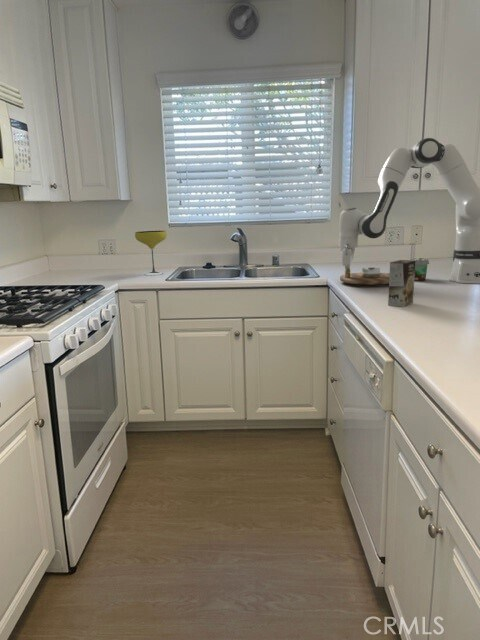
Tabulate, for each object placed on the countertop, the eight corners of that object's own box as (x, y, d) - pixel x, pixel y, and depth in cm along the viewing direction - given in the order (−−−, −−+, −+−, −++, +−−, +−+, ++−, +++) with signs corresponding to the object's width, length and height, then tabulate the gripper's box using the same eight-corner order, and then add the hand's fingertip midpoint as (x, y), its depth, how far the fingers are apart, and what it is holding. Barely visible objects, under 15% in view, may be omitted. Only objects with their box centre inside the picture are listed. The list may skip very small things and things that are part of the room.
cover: (376, 275, 227) (376, 266, 226) (382, 277, 219) (382, 268, 218) (360, 276, 226) (360, 267, 225) (365, 278, 218) (365, 269, 217)
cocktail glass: (163, 276, 270) (160, 232, 264) (133, 276, 273) (130, 233, 267) (173, 271, 287) (170, 230, 281) (144, 272, 290) (141, 231, 284)
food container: (423, 282, 220) (424, 261, 218) (410, 281, 224) (411, 260, 221) (431, 278, 230) (432, 258, 227) (418, 278, 233) (419, 257, 231)
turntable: (387, 274, 238) (388, 263, 237) (411, 282, 211) (412, 270, 210) (333, 276, 236) (333, 265, 235) (350, 285, 209) (350, 273, 208)
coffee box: (404, 307, 171) (406, 263, 168) (387, 305, 175) (389, 262, 172) (413, 302, 178) (415, 260, 174) (397, 301, 182) (398, 259, 178)
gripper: (353, 245, 211) (352, 276, 214) (356, 241, 230) (355, 269, 233) (339, 245, 212) (338, 275, 216) (343, 241, 231) (342, 269, 235)
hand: (347, 272), depth 225 cm, fingers closed
